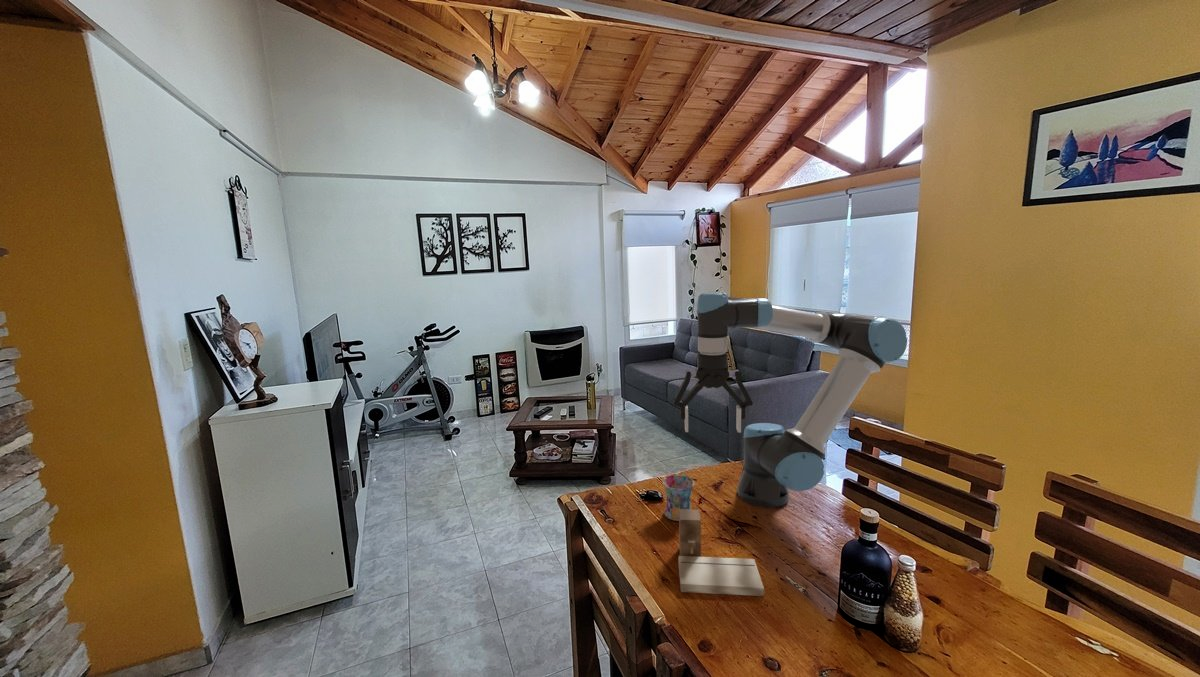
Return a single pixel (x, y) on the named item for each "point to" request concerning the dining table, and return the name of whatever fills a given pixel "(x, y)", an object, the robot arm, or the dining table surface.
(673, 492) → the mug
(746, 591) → the board
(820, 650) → the dining table surface
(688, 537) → the brown box
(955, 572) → the dining table surface
